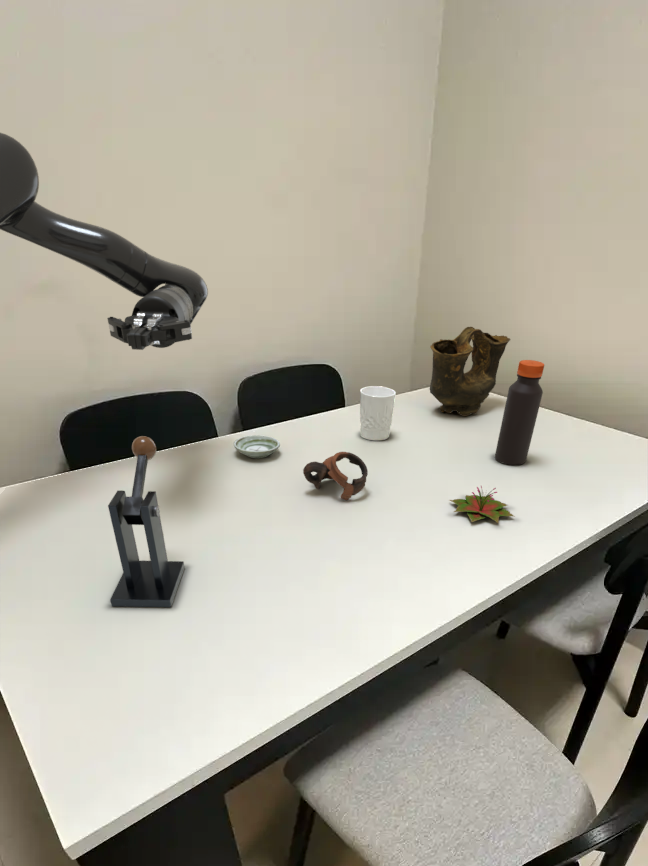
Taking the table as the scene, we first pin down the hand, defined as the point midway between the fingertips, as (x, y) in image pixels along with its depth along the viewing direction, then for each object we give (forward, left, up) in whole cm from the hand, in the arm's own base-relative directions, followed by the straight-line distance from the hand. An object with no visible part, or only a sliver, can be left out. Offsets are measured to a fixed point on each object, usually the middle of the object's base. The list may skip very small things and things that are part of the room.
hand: (135, 341), depth 82 cm
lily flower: (+56, +6, -28) cm, 63 cm away
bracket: (+2, -20, -28) cm, 34 cm away
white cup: (+39, +43, -28) cm, 65 cm away
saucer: (+13, +30, -28) cm, 43 cm away
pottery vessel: (+63, +64, -28) cm, 94 cm away
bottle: (+68, +31, -28) cm, 80 cm away
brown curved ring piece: (+29, +13, -28) cm, 42 cm away
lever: (+2, -15, -15) cm, 21 cm away
